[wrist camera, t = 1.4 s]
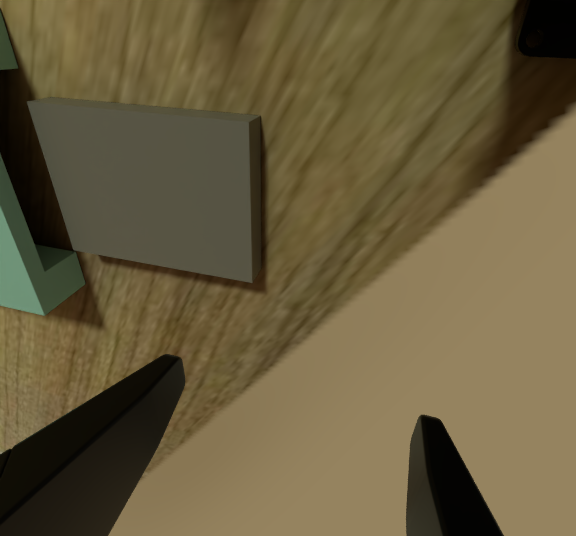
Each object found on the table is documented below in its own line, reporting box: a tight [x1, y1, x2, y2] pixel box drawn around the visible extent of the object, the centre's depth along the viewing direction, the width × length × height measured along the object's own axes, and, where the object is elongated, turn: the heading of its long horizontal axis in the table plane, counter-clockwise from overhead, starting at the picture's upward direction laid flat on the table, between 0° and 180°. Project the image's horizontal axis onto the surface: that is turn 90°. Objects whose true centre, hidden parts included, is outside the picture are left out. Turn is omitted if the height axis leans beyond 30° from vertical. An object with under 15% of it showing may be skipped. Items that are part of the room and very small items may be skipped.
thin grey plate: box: [27, 97, 261, 283], centre depth 19 cm, size 11×8×2 cm
